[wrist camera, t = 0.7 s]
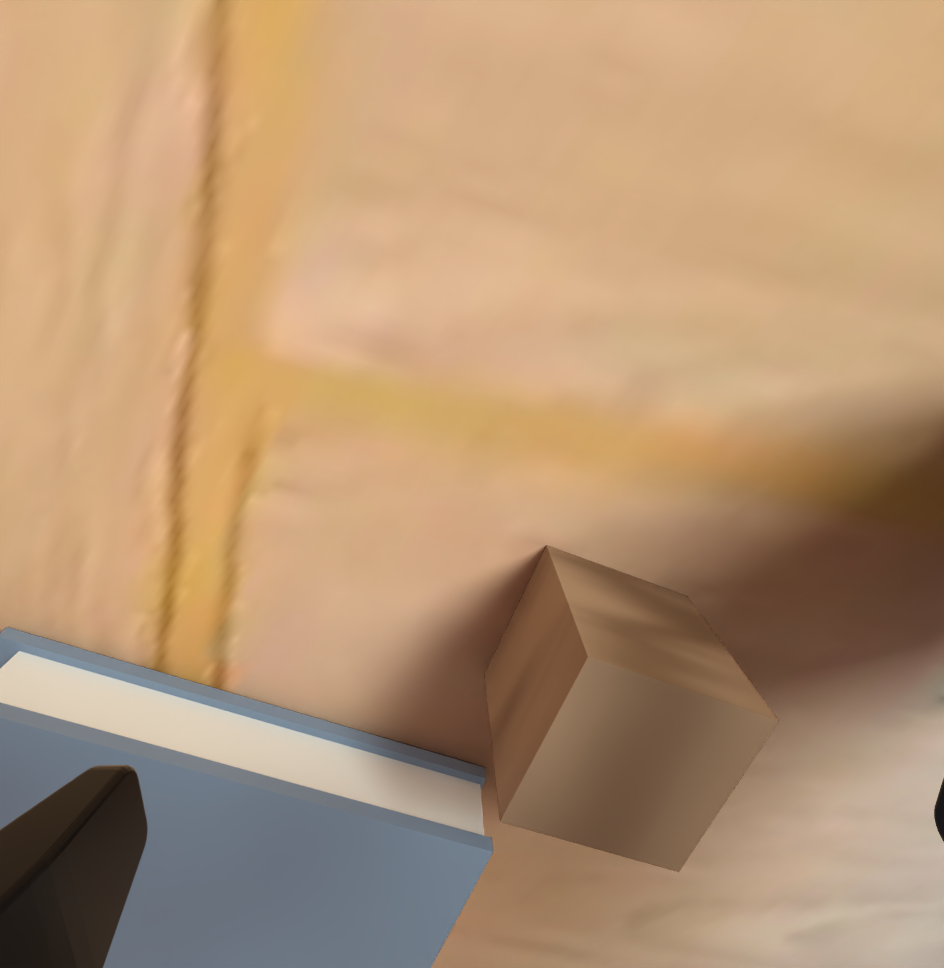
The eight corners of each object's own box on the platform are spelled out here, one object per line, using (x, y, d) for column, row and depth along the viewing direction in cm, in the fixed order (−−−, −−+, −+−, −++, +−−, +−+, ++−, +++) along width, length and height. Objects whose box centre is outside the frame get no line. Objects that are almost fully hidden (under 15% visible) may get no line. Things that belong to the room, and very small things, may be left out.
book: (485, 767, 23) (493, 851, 19) (370, 993, 26) (361, 1096, 23) (7, 627, 20) (-76, 697, 17) (-51, 899, 23) (-129, 1000, 20)
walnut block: (687, 595, 21) (779, 720, 15) (618, 716, 22) (679, 872, 17) (546, 544, 20) (587, 656, 14) (484, 673, 21) (499, 821, 16)
